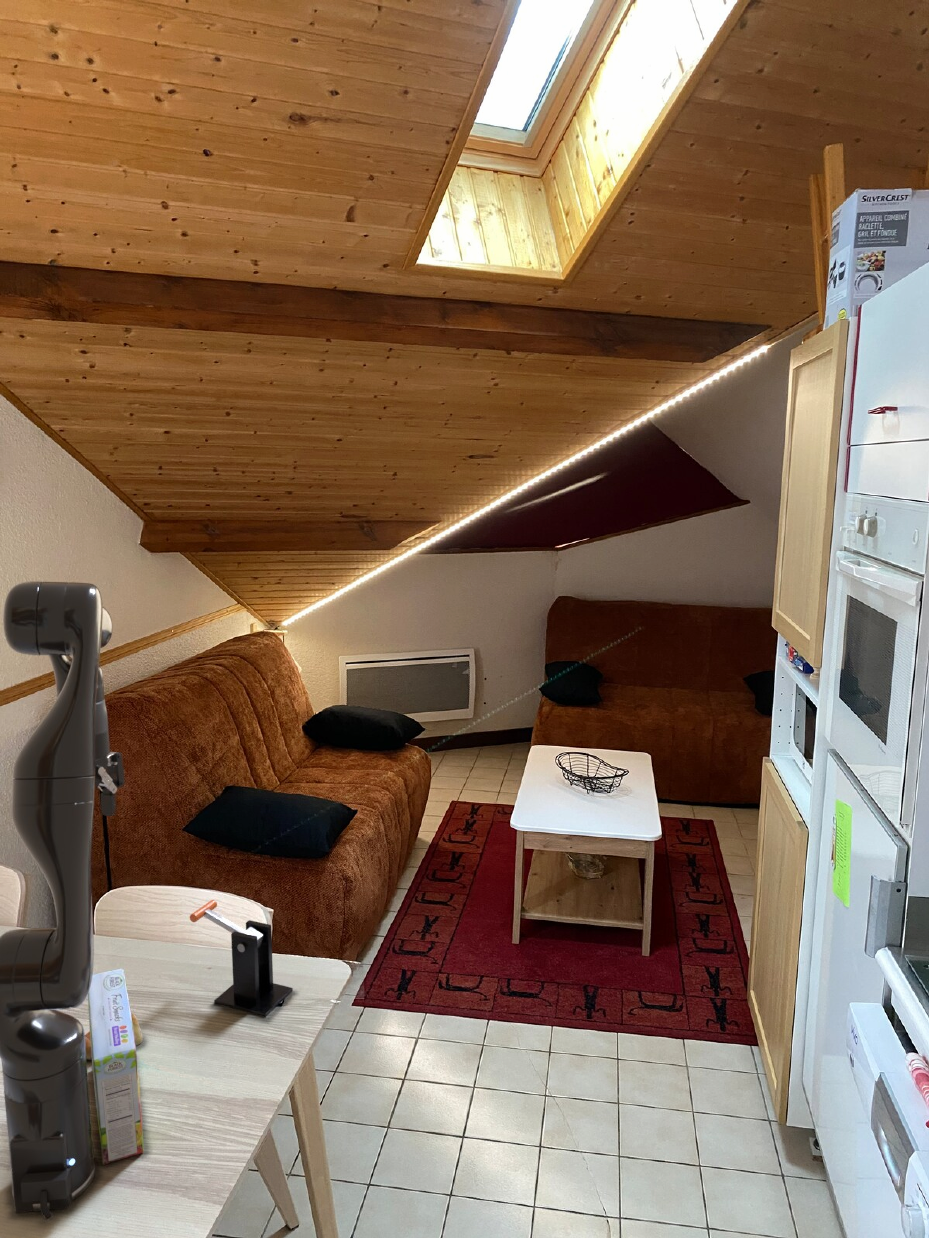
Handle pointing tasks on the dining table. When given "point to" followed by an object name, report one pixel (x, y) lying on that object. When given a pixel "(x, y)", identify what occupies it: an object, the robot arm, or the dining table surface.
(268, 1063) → the dining table surface
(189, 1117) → the dining table surface
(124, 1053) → the snack box
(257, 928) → the bracket
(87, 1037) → the pastry
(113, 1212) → the dining table surface
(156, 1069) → the dining table surface
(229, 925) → the lever
